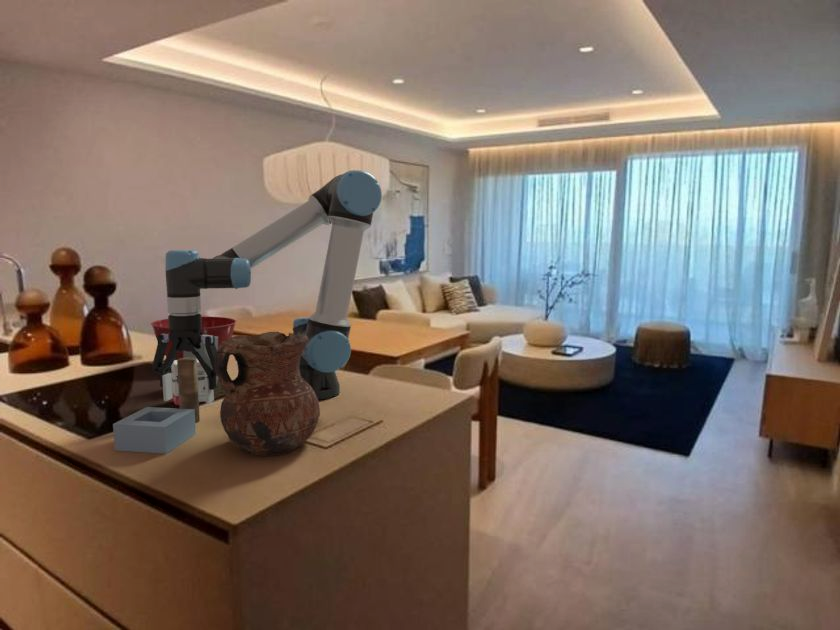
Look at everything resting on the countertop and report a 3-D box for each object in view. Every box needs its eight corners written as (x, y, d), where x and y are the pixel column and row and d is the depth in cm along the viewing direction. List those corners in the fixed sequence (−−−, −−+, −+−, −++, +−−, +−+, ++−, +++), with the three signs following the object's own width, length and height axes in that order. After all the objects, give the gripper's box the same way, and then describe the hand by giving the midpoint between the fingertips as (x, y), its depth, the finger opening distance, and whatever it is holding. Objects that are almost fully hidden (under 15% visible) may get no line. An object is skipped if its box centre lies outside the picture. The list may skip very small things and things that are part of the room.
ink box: (175, 405, 150) (173, 364, 148) (172, 401, 154) (170, 360, 152) (208, 401, 154) (206, 360, 153) (204, 396, 159) (202, 357, 157)
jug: (265, 423, 137) (262, 325, 134) (337, 435, 129) (336, 332, 126) (199, 455, 117) (193, 340, 113) (279, 472, 109) (276, 350, 105)
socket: (195, 433, 129) (194, 409, 128) (166, 453, 117) (164, 427, 117) (148, 431, 131) (147, 406, 130) (114, 450, 119) (112, 424, 118)
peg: (203, 418, 140) (200, 357, 137) (193, 424, 135) (190, 361, 133) (186, 417, 140) (183, 357, 138) (176, 423, 136) (173, 361, 134)
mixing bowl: (218, 351, 219) (217, 313, 217) (250, 364, 198) (249, 322, 196) (143, 361, 200) (140, 320, 198) (169, 377, 179) (167, 330, 177)
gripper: (236, 312, 136) (239, 398, 139) (150, 309, 139) (155, 394, 142) (221, 317, 129) (225, 407, 132) (131, 314, 131) (137, 402, 135)
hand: (189, 400), depth 137 cm, fingers open, 10 cm apart
